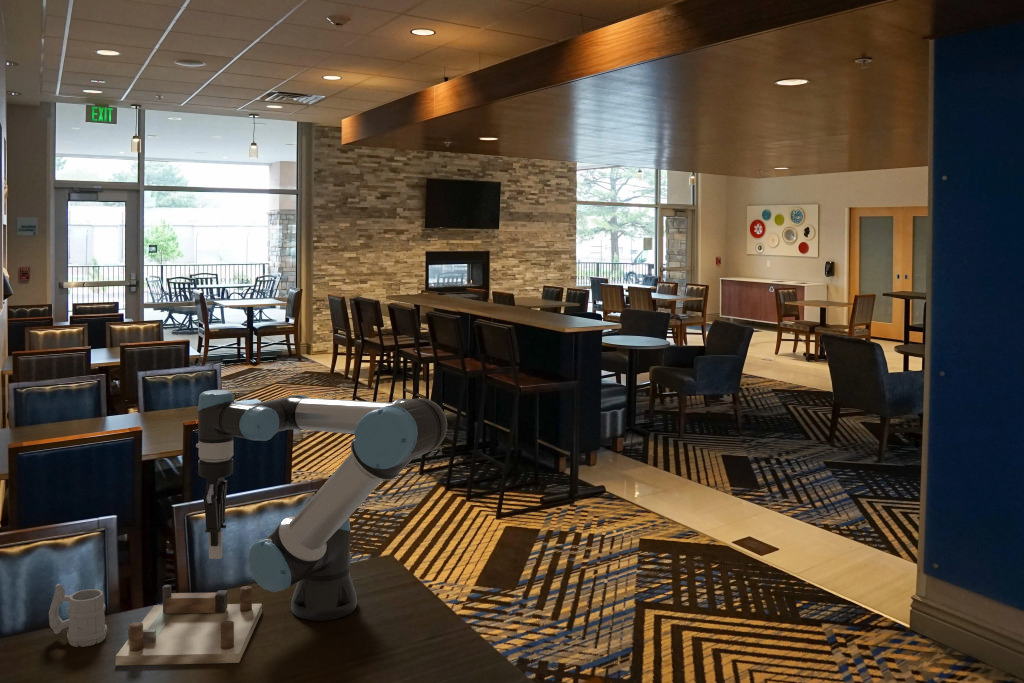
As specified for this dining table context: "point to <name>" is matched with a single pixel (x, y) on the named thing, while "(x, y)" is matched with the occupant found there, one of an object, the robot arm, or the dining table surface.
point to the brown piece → (194, 602)
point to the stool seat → (192, 635)
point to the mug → (80, 616)
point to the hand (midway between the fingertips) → (215, 557)
